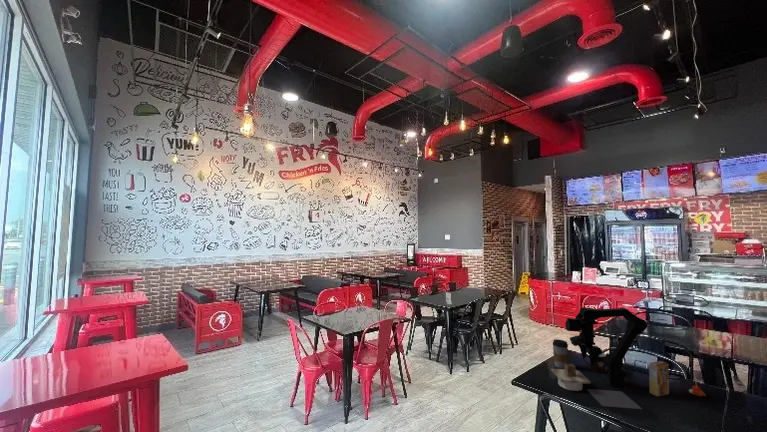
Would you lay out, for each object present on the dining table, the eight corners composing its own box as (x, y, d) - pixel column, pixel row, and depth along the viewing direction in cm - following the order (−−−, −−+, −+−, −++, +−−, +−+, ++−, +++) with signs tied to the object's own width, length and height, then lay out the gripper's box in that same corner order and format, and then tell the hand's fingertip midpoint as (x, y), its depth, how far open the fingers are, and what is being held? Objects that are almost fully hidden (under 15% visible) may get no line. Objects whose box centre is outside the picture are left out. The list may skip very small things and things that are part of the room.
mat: (621, 392, 170) (621, 391, 170) (642, 410, 153) (642, 409, 153) (585, 389, 172) (585, 388, 172) (602, 407, 155) (602, 405, 155)
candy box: (660, 390, 172) (659, 360, 173) (669, 394, 168) (669, 363, 169) (649, 393, 169) (648, 362, 170) (658, 397, 165) (657, 365, 166)
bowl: (576, 382, 180) (576, 373, 180) (586, 392, 169) (586, 382, 169) (555, 381, 181) (555, 371, 182) (563, 390, 171) (563, 380, 171)
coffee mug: (606, 370, 196) (606, 353, 197) (607, 375, 189) (606, 357, 190) (583, 365, 203) (583, 349, 203) (583, 370, 195) (583, 353, 196)
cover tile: (578, 372, 181) (578, 361, 182) (590, 383, 168) (590, 371, 168) (551, 370, 183) (551, 359, 184) (561, 381, 170) (561, 369, 170)
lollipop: (691, 398, 165) (690, 373, 165) (687, 390, 173) (687, 367, 173) (708, 401, 161) (707, 376, 162) (703, 393, 169) (702, 369, 170)
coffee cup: (570, 369, 196) (570, 344, 197) (555, 368, 198) (554, 343, 199) (565, 364, 205) (565, 339, 205) (551, 363, 206) (550, 338, 207)
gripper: (564, 326, 190) (565, 353, 190) (579, 336, 172) (579, 367, 171) (585, 327, 189) (585, 355, 188) (602, 337, 170) (602, 368, 169)
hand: (587, 361), depth 179 cm, fingers open, 9 cm apart
